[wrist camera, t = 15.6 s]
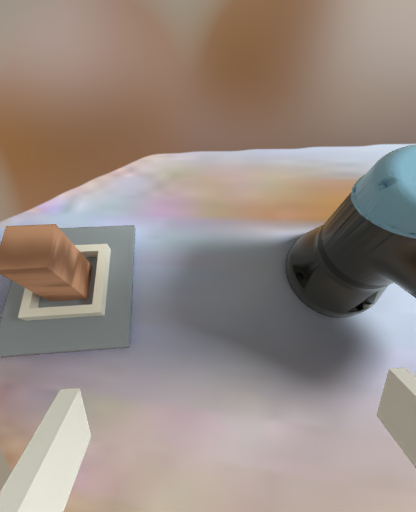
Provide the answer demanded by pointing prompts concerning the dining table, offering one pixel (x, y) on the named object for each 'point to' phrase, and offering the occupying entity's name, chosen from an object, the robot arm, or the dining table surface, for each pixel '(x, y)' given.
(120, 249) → the baseplate
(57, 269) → the pillar
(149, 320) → the dining table surface
